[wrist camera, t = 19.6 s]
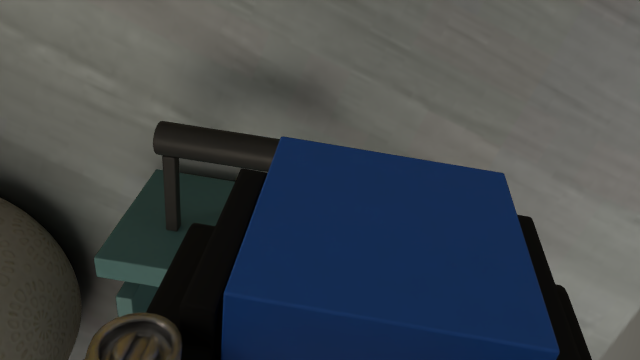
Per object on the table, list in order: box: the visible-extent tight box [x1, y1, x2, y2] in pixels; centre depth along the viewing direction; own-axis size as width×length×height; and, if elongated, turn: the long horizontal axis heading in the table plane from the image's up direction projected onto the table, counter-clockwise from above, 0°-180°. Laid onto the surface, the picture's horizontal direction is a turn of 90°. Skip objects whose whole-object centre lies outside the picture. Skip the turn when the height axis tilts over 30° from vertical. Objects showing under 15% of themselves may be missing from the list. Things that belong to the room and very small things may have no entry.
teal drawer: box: [94, 121, 280, 317], centre depth 30 cm, size 19×11×8 cm, turn 174°
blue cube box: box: [221, 137, 560, 360], centre depth 10 cm, size 4×4×4 cm
